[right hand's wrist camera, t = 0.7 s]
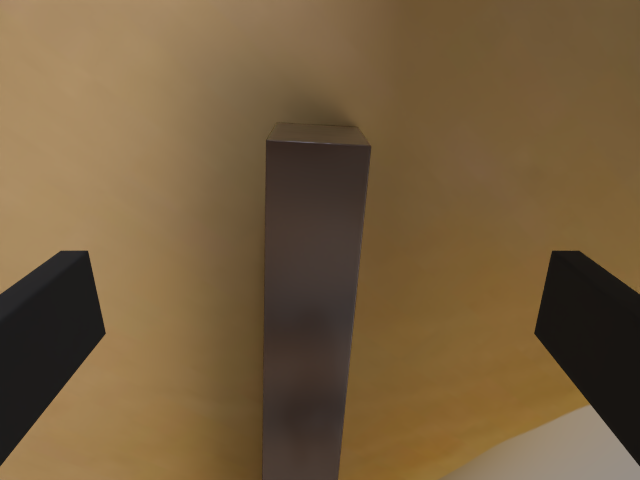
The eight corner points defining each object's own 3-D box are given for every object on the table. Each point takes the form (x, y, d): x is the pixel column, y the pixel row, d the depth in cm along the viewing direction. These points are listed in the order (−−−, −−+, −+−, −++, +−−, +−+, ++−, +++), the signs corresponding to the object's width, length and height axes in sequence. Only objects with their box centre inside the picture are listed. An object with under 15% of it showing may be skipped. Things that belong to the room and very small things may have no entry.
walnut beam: (324, 512, 40) (326, 593, 34) (268, 510, 39) (261, 591, 33) (358, 127, 27) (371, 145, 21) (276, 122, 27) (266, 139, 21)
